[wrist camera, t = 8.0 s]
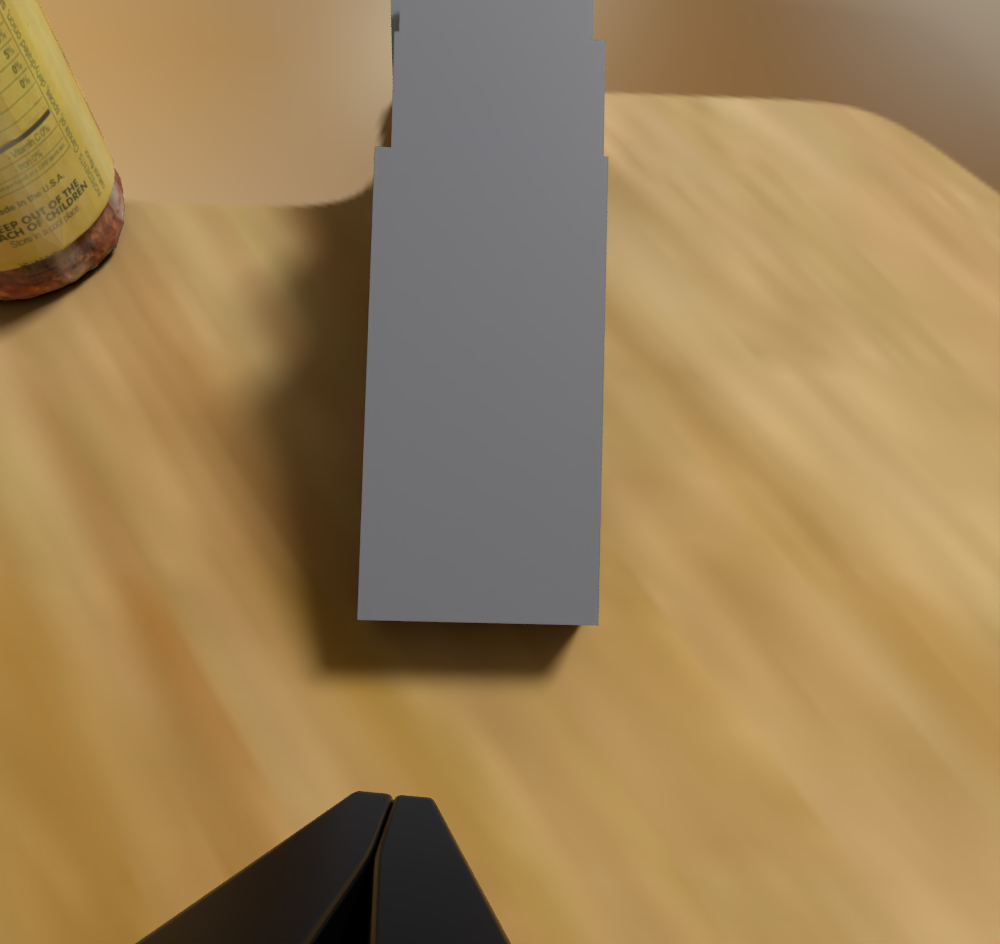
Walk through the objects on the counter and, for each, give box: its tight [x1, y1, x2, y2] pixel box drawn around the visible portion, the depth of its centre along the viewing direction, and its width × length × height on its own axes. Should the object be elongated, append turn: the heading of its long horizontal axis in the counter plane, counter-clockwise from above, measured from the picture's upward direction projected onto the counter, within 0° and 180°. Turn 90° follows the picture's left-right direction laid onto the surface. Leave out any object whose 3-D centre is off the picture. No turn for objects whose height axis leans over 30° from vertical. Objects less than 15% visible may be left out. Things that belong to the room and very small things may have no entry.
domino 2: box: [391, 31, 605, 157], centre depth 19 cm, size 2×5×10 cm
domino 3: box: [357, 147, 608, 625], centre depth 17 cm, size 2×5×10 cm
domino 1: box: [399, 0, 593, 40], centre depth 21 cm, size 2×5×10 cm
